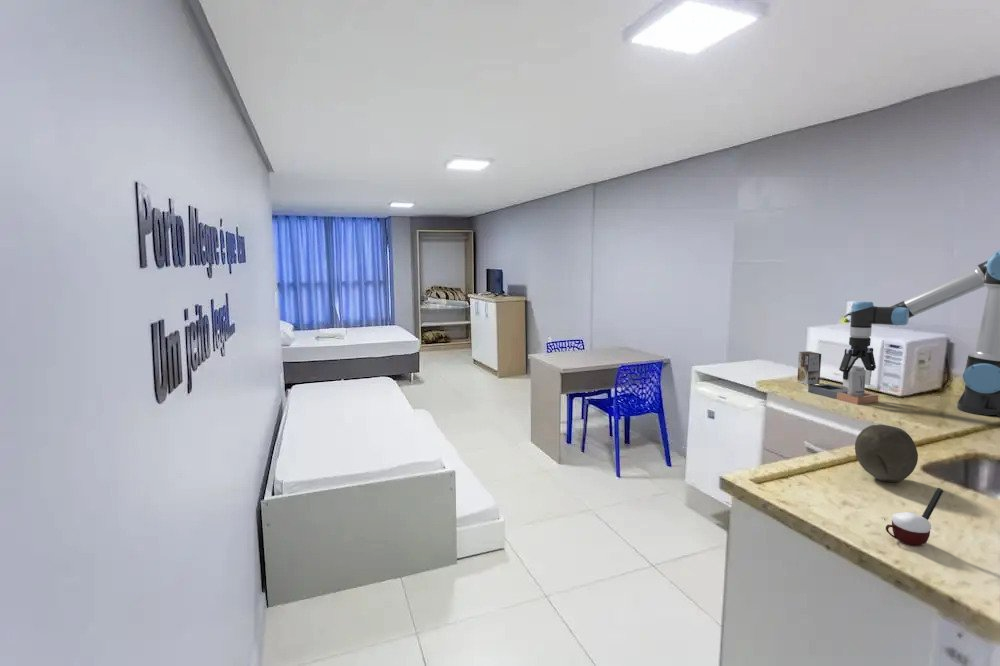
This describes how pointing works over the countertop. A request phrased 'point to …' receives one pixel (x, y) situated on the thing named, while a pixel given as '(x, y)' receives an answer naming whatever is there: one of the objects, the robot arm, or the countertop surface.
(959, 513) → the countertop surface
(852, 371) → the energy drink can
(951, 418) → the countertop surface
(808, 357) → the coffee box
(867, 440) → the dark grey rounded lump
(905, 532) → the cocoa
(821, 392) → the shallow tray
